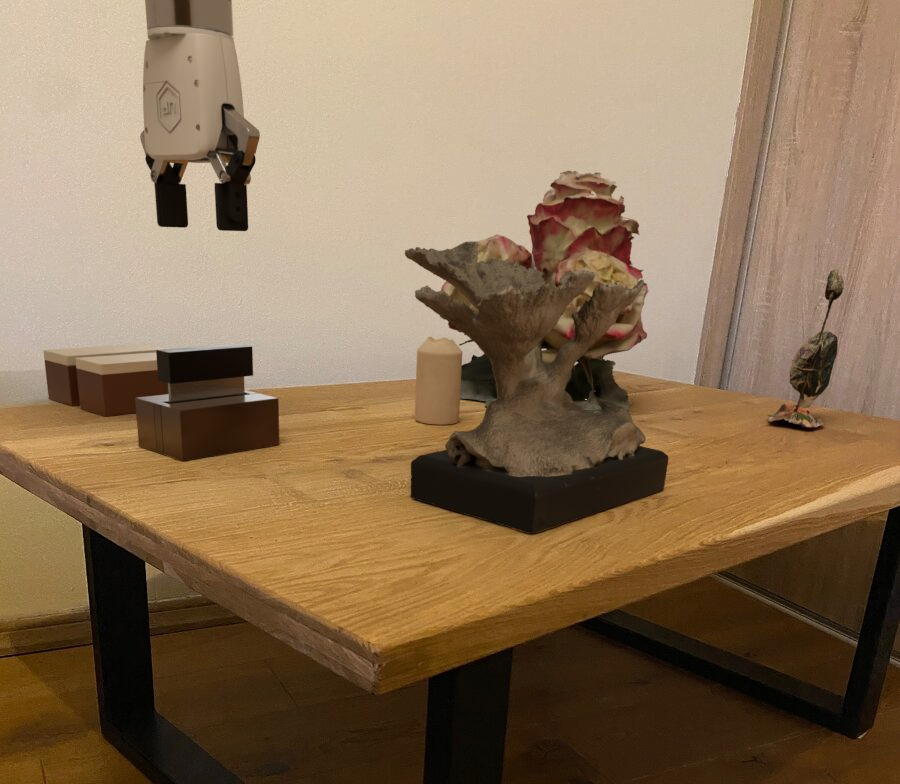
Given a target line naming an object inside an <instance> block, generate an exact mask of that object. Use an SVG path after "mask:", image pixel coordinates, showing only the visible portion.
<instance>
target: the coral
mask: <svg viewBox="0 0 900 784" xmlns="http://www.w3.org/2000/svg"><path fill="white" fill-rule="evenodd" d="M478 245H479V244H478V242H477V240H475V241H472V240H470V241H464V242H462V243H460V244H458V245H456V246H455V247H452V248H445V249H443V250H438V249H435V248H431V247H430V248H429V249H426V248H425V247H423V248H421V247H420V246H416V247H415V248H413V247H411V248H408V249H405V250H404V256H405V257H406V258H407V259H408V260H411V261H412V262H414V263H415V264H417V265H418V266H419V267H421V268H422V269H424V270H426V271H428V272H429V273H431V274H433V275H435V276H436V277H439V278H440V279H442V280H443V281H445V282H446V281H447V282H448V283H449V284H451V285H453V286H454V287H456V288H457V289H458V290H459V291H460V292H461V293H462V294H463V295H464V296H465V297H466V298H467V299H468V300H469V302H470V303H471V304H472V305H473V306H474V307H475V308H476V309H478V310H479V312H476V311H473V310H472V308H470V307H469V306H467V305H466V304H465V303H464V302H459V301H458V300H456V299H452V298H451V297H450V295H448V294H447V293H446V292H445V291H444V290H441V289H440V290H438V291H436V290H434V289H433V288H432V287H430V286H429V285H428V284H427V285H425V286H421V287H420V289H416V290H414V297H415V298H416V300H417V301H419V302H420V303H422V304H423V305H424V306H425V307H427V308H428V309H430V310H432V311H433V312H434V313H435V314H437V315H439V317H440V318H441V319H442V320H445V321H447V322H450V323H451V324H453V325H454V326H455V327H456V328H458V329H459V330H460V331H461V332H460V333H462V334H464V333H465V334H466V335H465V336H466V337H468V338H469V340H471V339H472V340H473V342H474V343H475V344H476V345H477V346H478V348H479V349H480V351H482V352H483V354H486V355H487V356H488V357H489V359H490V361H491V364H492V370H493V374H494V377H495V380H496V388H497V399H496V400H495V401H493V402H491V403H490V404H489V405H488V407H486V409H485V412H484V416H483V418H482V421H481V422H480V423H479V424H478V425H477V426H476V427H475V428H473V429H471V430H467V431H465V430H464V431H463V430H462V431H459V430H455V431H453V432H452V433H451V434H450V436H449V439H448V441H447V442H445V445H444V447H445V449H444V450H439V451H434V452H429V453H425V454H424V453H423V454H420V455H418V456H417V457H416V458H414V459H413V460H411V462H410V498H412V499H414V500H418V501H421V502H423V503H427V504H431V505H433V506H436V507H440V508H444V509H447V510H450V511H455V512H458V513H461V514H465V515H468V516H471V517H475V518H479V519H481V520H485V521H488V522H492V523H495V524H497V525H502V526H505V527H509V528H511V529H514V530H517V531H520V532H524V533H528V534H536V533H540V532H544V531H545V530H549V529H552V528H556V527H558V526H561V525H563V524H566V523H571V522H573V521H576V520H578V519H583V518H585V517H587V516H591V515H595V514H597V513H600V512H603V511H606V510H609V509H612V508H615V507H618V506H621V505H624V504H628V503H630V502H633V501H636V500H640V499H642V498H647V497H648V496H651V495H654V494H657V493H660V492H662V491H665V485H666V478H667V473H668V472H667V471H668V465H669V455H668V454H667V453H666V452H664V451H662V450H659V449H656V448H650V447H645V446H642V445H643V444H644V443H645V442H646V439H647V437H646V435H645V433H644V432H643V431H642V430H641V428H639V427H638V426H637V425H636V423H634V421H633V418H632V416H631V414H630V412H628V411H629V410H628V411H627V410H626V409H625V408H623V407H615V408H613V409H610V410H608V411H607V412H603V413H599V414H597V413H590V412H587V411H585V410H584V409H582V408H581V407H579V406H578V405H576V404H575V403H574V402H573V400H572V398H571V396H570V395H569V394H568V393H567V392H566V391H565V388H566V384H567V381H568V377H569V374H570V373H571V369H572V368H573V366H574V365H576V364H577V362H576V361H577V360H578V359H579V358H580V357H582V356H583V355H584V353H585V352H586V351H587V350H588V348H589V347H590V346H592V344H594V343H595V342H596V341H597V340H598V339H600V338H601V337H602V336H603V335H604V334H605V333H606V332H607V331H608V330H609V328H610V327H611V325H612V324H613V323H614V321H615V319H616V318H617V317H618V315H619V314H621V312H623V311H624V309H625V308H626V307H627V306H630V305H631V302H633V301H634V300H635V298H636V297H637V295H638V294H639V293H640V291H641V290H642V288H643V286H644V283H645V280H644V279H643V278H642V279H641V278H640V279H639V280H638V281H639V282H638V283H637V285H634V287H633V288H632V289H631V288H630V289H629V287H628V285H625V284H624V285H622V284H621V283H619V282H614V284H607V285H598V286H597V287H595V290H594V291H593V295H592V297H591V299H590V300H589V301H587V300H585V302H584V303H583V306H581V307H580V310H579V311H576V312H573V313H572V315H571V316H572V319H573V320H574V325H575V333H576V334H575V338H573V339H572V340H571V341H570V342H568V343H567V344H564V345H562V347H561V349H560V350H559V352H558V353H557V355H556V357H555V360H554V361H552V362H551V363H546V362H544V361H543V359H542V351H543V349H542V348H541V345H542V343H543V341H544V338H545V336H546V335H547V334H548V333H549V332H550V331H551V330H552V328H553V327H554V326H555V325H556V324H557V323H558V321H559V319H560V317H561V315H563V312H564V310H565V309H566V307H567V306H568V305H569V303H570V302H572V301H573V299H574V298H575V297H577V296H579V295H580V294H581V293H583V292H584V291H585V290H586V288H587V287H588V286H589V285H590V284H591V282H592V281H593V280H594V277H595V275H596V274H595V273H594V272H590V271H585V270H582V269H579V270H574V271H573V272H572V271H571V270H569V271H565V272H564V273H565V275H562V277H561V278H560V281H559V286H558V287H557V288H556V286H555V276H556V273H555V272H554V273H553V274H552V276H551V277H549V282H548V283H547V284H545V281H544V279H543V278H542V277H541V276H542V275H543V273H542V272H541V271H538V270H535V269H532V268H528V269H526V268H525V267H524V266H521V265H520V266H519V263H518V264H517V262H514V260H513V261H511V262H510V261H508V260H507V261H502V260H501V259H499V260H498V259H497V258H490V259H489V260H487V262H484V261H480V262H479V263H478V262H477V261H478V256H477V255H478ZM627 287H628V288H627Z"/></svg>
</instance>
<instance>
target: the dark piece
mask: <svg viewBox="0 0 900 784" xmlns="http://www.w3.org/2000/svg"><path fill="white" fill-rule="evenodd" d="M156 355H157V370H158V381H161V382H165V383H168V393H169V404H173V403H182V402H190V401H199V400H207V399H216V398H224V397H233V396H241V395H245V390H246V389H245V377H252V376H254V356H253V346H252V345H246V344H242V343H236V344H234V343H233V344H223V345H222V344H220V345H206V346H192V347H177V348H167V349H162V350H156Z"/></svg>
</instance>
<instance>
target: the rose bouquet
mask: <svg viewBox="0 0 900 784" xmlns="http://www.w3.org/2000/svg"><path fill="white" fill-rule="evenodd" d="M601 175H602V173H601V172H600V171H599V172H597V171H596V172H594V173H591V172H588V173H587V172H586V173H579V171H576V170H574V171H572V170H566V171H562V172H559V177H558V178H556V179H554V181H553V182H551V183H550V187H551V188H550V189H548V190H547V191H545V193H544V195H543V198H542V202H538V203H537V204H536V206H535V209H534V214H528V215H527V216H526V218H527V221H528V222H527V223H528V226H529V230H528V233H529V235H530V240H531V241H530V242H531V248H532V249H531V252H530V251H529V250H528V249H527V248H526V247H525V245H522V244H517V243H516V242H515V241H513V240H512V239H510V238H508V237H506V236H505V235H500V234H498V233H497V234H493V235H491V236H489V237H487V238H485V239H480V240H476V242H478V244H479V245H478V255H477V256H478V261H477V262H478V263H479V262H480V261H484V262H487V260H489V259H490V258H497V259H498V260H499V259H501V260H502V261H507V260H508V261H510V262H511V261H513V260H514V262H517V264H518V263H519V266H520V265H521V266H524V267H525V268H526V269H528V268H532V269H535V270H538V271H541V272H542V273H543V275H542V276H541V277H542V278H543V279H544V281H545V284H547V283H548V282H549V277H551V276H552V274H553V273H554V272H555V273H556V276H555V286H556V288H557V287H558V286H559V281H560V278H561V277H562V275H565V273H564V272H565V271H569V270H571V271H572V272H573V271H574V270H579V269H582V270H585V271H590V272H594V273H595V274H596V275H595V277H594V280H593V281H592V282H591V284H590V285H589V286H588V287H587V288H586V290H585V291H584V292H583V293H581V294H580V295H579V296H577V297H575V298H574V299H573V301H572V302H570V303H569V305H568V306H567V307H566V309H565V310H564V312H563V315H561V317H560V319H559V321H558V323H557V324H556V325H555V326H554V327H553V328H552V330H551V331H550V332H549V333H548V334H547V335H546V336H545V338H544V341H543V343H542V345H541V348H542V359H543V361H544V362H546V363H551V362H552V361H554V360H555V357H556V355H557V353H558V352H559V350H560V349H561V347H562V345H564V344H567V343H568V342H570V341H571V340H572V339H573V338H575V334H576V333H575V325H574V320H573V319H572V316H571V315H572V313H573V312H576V311H579V310H580V307H581V306H583V303H584V302H585V300H587V301H589V300H590V299H591V297H592V295H593V291H594V290H595V287H597V286H598V285H607V284H614V282H619V283H621V284H622V285H624V284H625V285H628V287H629V289H630V288H631V289H632V288H633V287H634V285H637V283H638V282H639V281H640V280H641V279H642V280H643V278H644V277H643V271H644V269H639V268H636V267H634V266H633V265H634V263H633V262H632V261H631V254H632V247H633V242H632V241H633V240H634V239H635V237H634V236H633V234H635V235H639V236H640V235H641V234H640V231H639V227H640V224H639V221H638V220H636V219H634V218H629V217H626V216H623V215H622V214H625V211H626V205H625V204H624V201H625V200H624V199H625V197H624V196H623V195H620V197H619V198H618V199H616V198H614V197H613V196H612V195H613V194H614V192H615V191H616V189H617V188H618V186H617V185H616V184H617V181H615V180H611V179H609V178H603V177H602V176H601ZM628 287H627V288H628ZM441 290H444V291H445V292H446V293H447V294H448V295H450V297H451V298H452V299H456V300H458V301H459V302H464V303H465V304H466V305H467V306H469V307H470V308H472V310H473V311H476V312H479V310H478V309H476V308H475V307H474V306H473V305H472V304H471V303H470V302H469V300H468V299H467V298H466V297H465V296H464V295H463V294H462V293H461V292H460V291H459V290H458V289H457V288H456V287H454V286H453V285H451V284H449V283H448V282H447V281H446V280H445V281H444V283H443V285H442V286H441V289H440V291H441ZM649 292H650V291H649V288H648V283H646V282H644V286H643V288H642V290H641V291H640V293H639V294H638V295H637V297H636V298H635V300H634V301H633V302H631V305H630V306H627V307H626V308H625V309H624V311H623V312H621V314H619V315H618V317H617V318H616V319H615V321H614V323H613V324H612V325H611V327H610V328H609V330H608V331H607V332H606V333H605V334H604V335H603V336H602V337H601V338H600V339H598V340H597V341H596V342H595V343H594V344H592V346H590V347H589V348H588V350H587V351H586V352H585V353H584V355H583V356H582V357H580V358H579V359H578V360H577V361H576V363H575V365H574V366H573V368H572V369H571V373H570V374H569V377H568V381H567V384H566V388H565V391H566V392H567V393H568V394H569V395H570V396H571V398H572V400H573V402H574V403H575V404H576V405H578V406H579V407H581V408H582V409H584V410H585V411H587V412H590V413H597V414H599V413H603V412H607V411H608V410H610V409H613V408H615V407H623V408H625V409H626V410H627V411H628V413H630V409H629V407H630V406H632V405H634V402H630V401H629V399H628V398H629V395H628V391H627V390H625V389H624V388H622V387H620V385H619V384H618V383H617V382H616V380H615V378H614V376H615V375H613V374H614V371H613V370H614V366H616V362H615V361H614V360H611V359H605V358H604V357H606V356H608V355H611V354H617V353H623V352H627V351H630V350H632V349H633V348H634V347H636V346H637V345H638V344H640V343H642V342H643V340H645V339H647V338H648V333H647V332H646V331H645V330H644V325H643V322H642V312H643V307H644V305H645V299H646V297H647V295H648V293H649ZM447 322H448V321H447ZM447 326H448V328H449V329H451V330H453V331H457V332H458V333H462V332H461V331H460V330H459V329H458V328H456V327H455V326H454V325H453V324H451V323H450V322H448V323H447ZM463 335H464V336H467V335H466V334H465V333H463ZM472 342H474V341H473V340H472V339H468V340H465V341H464V342H461V343H459V344H458V347H460V346H463V345H465V344H468V343H472ZM460 399H463V400H464V399H465V400H467V399H468V400H473V401H480V402H481V401H482V402H485V405H484V406H485V407H486V408H487V407H488V405H489V404H490V403H491V402H493V401H495V400H496V399H497V388H496V380H495V377H494V374H493V370H492V364H491V361H490V359H489V357H488V356H487V355H486V354H484V353H483V354H482V355H480V356H477V355H475V354H473V355H472V356H471V360H470V361H468V362H467V363H464V364H463V363H462V369H461V388H460ZM585 399H587V400H585Z"/></svg>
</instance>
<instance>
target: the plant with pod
mask: <svg viewBox="0 0 900 784" xmlns="http://www.w3.org/2000/svg"><path fill="white" fill-rule="evenodd" d="M844 289H845V281H844V277H843V275H842V273H841V272H840V270H839V268H835V269H832V270H831V271H830V272H829V274H828V276H827V278H826V284H825V291H824V297H825V300H827V301H828V305H827V311H826V314H825V318H824V321H823V323H822V326H821V330H820V331H818V332H817V333H815V334H813V335H811V336H809V338H808V339H807V340H806V341H805V343H803V344H802V345H801V346H800V347H799V349H798V350H797V353H795V355H794V357H793V359H792V360H791V365H790V367H789V384H790V385H791V387H792V388H793V389H794V390H795V391H796V392H798V393H799V398H798V401H797V404H792V403H786V402H785V403H782V404H781V406H780V407H779V409H778V410H777V411H776V412H775V413H773V414H767V415H766V417H768V420H767V421H768V422H770V423H771V422H774V421H775V422H776V421H780V420H781V421H782V420H784V421H785V422H787V421H788V423H792V424H793V425H798V426H799V425H800V426H801V427H803V428H807V429H809V428H811V429H812V428H818V427H820V426H826V424H827V423H826V421H824V420H822V418H821V417H816V418H814V416H813V414H812V409H811V407H810V406H811V405H812V404H813V403H814V402H815V401H816V400H817V399H818V398H819V397H820V395H822V394H823V393H824V392H825V390H826V389H827V388H828V387H829V384H830V381H831V377H832V374H833V368H834V364H835V361H836V358H837V355H838V345H839V343H838V336H837V335H836V334H834V333H833V332H832V331H828V330H825V326H826V324H827V320H828V319H829V315H830V313H831V309H832V305H833V303H834V301H837V299H839V298H840V297H841V296H842V294H843V292H844ZM839 334H842V331H841V332H840V331H839Z"/></svg>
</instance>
